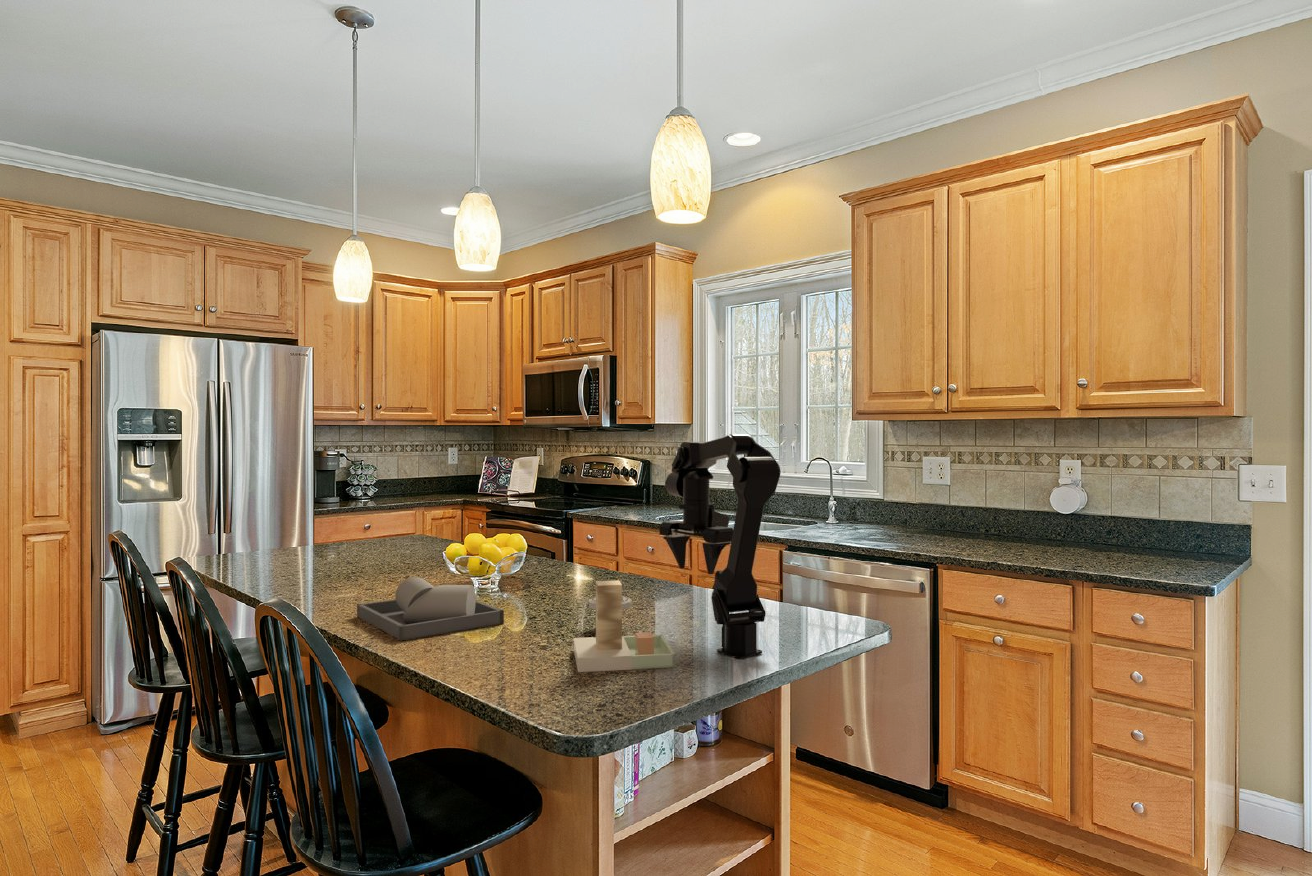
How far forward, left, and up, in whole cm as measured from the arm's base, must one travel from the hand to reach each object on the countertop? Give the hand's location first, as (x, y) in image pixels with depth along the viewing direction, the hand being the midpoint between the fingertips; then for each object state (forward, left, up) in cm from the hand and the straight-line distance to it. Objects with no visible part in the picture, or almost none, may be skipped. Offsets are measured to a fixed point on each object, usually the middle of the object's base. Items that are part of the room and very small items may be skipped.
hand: (696, 571), depth 167 cm
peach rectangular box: (-8, +23, -11) cm, 26 cm away
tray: (-9, +21, -13) cm, 26 cm away
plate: (-5, +28, -13) cm, 31 cm away
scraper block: (-5, +27, -10) cm, 30 cm away
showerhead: (+14, +13, -13) cm, 23 cm away
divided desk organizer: (+46, +41, -13) cm, 63 cm away
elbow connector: (+46, +40, -13) cm, 63 cm away
